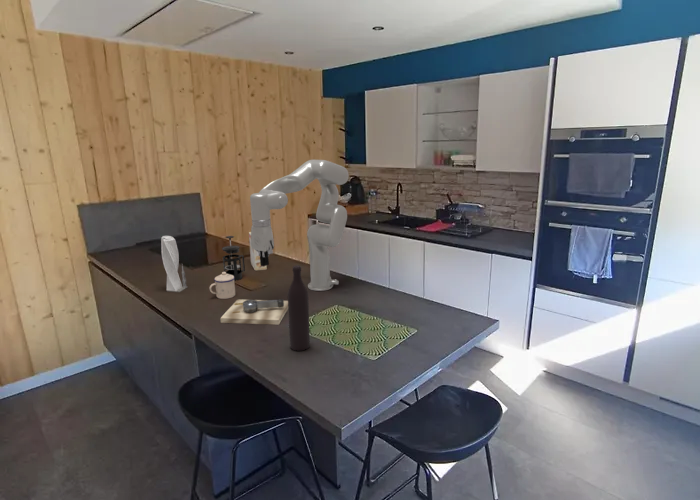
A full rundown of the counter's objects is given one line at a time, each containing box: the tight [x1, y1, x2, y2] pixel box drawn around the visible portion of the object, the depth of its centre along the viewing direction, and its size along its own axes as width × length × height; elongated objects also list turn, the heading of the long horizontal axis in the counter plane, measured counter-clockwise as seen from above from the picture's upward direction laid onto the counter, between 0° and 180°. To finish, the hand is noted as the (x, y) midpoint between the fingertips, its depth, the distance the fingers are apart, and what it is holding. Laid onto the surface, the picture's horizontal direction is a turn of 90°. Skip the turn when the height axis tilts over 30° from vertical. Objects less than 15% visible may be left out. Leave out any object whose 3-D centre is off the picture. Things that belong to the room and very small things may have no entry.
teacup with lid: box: [209, 271, 236, 300], centre depth 192 cm, size 12×9×12 cm
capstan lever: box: [234, 298, 285, 312], centre depth 173 cm, size 20×6×3 cm, turn 100°
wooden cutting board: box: [220, 299, 288, 326], centre depth 174 cm, size 24×20×3 cm
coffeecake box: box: [248, 231, 268, 272], centre depth 236 cm, size 15×7×20 cm, turn 22°
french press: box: [221, 235, 246, 282], centre depth 216 cm, size 12×9×23 cm
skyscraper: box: [160, 235, 188, 293], centre depth 199 cm, size 8×8×28 cm
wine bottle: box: [287, 264, 311, 352], centre depth 143 cm, size 7×7×30 cm
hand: (264, 265), depth 175 cm, fingers closed
